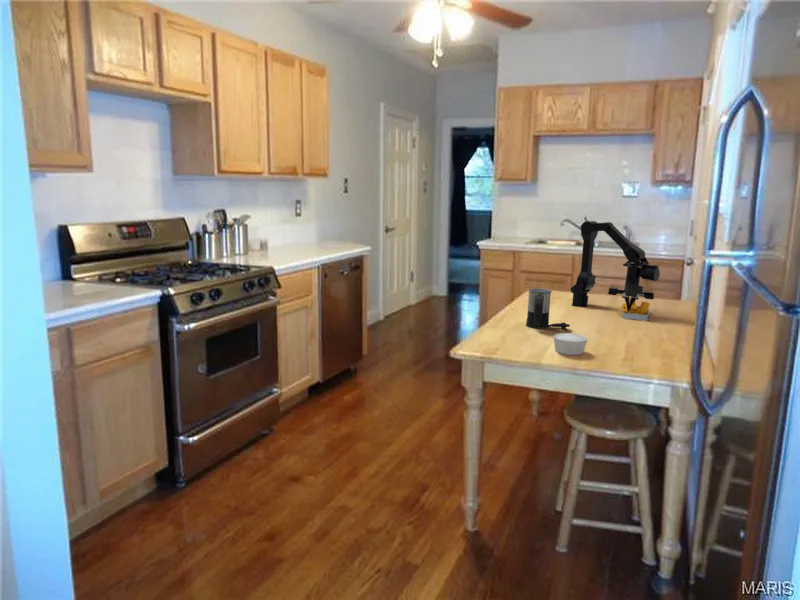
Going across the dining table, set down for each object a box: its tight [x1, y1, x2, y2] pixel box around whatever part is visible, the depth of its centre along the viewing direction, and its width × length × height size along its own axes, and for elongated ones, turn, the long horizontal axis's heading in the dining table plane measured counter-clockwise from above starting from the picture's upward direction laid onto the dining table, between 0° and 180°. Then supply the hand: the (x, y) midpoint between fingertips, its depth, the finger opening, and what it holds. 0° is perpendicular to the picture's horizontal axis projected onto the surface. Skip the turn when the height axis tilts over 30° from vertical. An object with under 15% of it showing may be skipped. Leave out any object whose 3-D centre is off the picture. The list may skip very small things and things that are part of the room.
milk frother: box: [525, 287, 571, 330], centre depth 237 cm, size 14×16×15 cm
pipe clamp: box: [621, 296, 650, 315], centre depth 264 cm, size 12×4×6 cm, turn 13°
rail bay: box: [621, 304, 651, 322], centre depth 263 cm, size 11×18×2 cm, turn 160°
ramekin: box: [552, 332, 588, 356], centre depth 206 cm, size 11×11×5 cm
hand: (628, 311), depth 264 cm, fingers closed
